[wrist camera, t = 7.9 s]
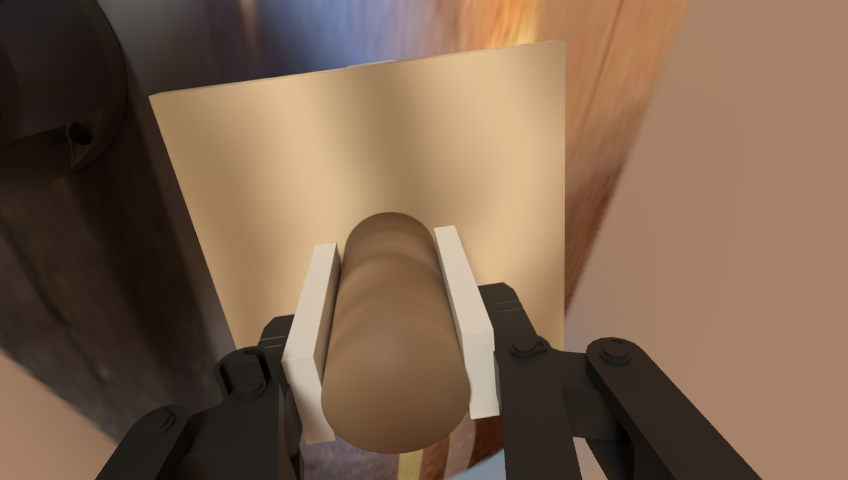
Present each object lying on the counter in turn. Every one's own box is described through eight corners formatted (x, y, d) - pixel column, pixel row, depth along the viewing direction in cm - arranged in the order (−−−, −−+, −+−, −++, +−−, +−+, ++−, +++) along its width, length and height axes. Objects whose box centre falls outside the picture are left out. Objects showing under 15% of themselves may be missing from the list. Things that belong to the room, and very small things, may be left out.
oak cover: (264, 398, 22) (197, 613, 14) (160, 92, 17) (-55, 155, 8) (556, 354, 23) (655, 538, 15) (555, 39, 17) (719, 51, 9)
